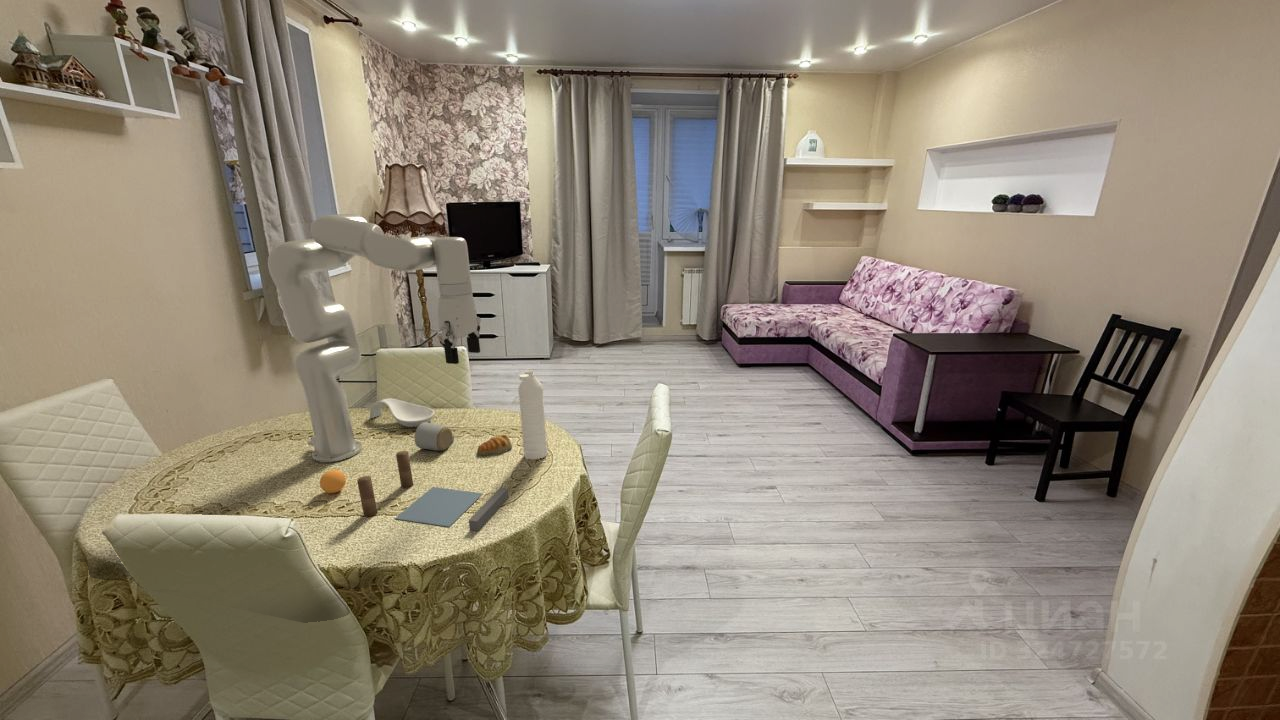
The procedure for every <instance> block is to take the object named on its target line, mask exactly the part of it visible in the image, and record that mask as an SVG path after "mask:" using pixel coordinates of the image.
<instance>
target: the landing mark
mask: <svg viewBox="0 0 1280 720" xmlns="http://www.w3.org/2000/svg"><path fill="white" fill-rule="evenodd" d="M483 494H484V493H483V492H475V491H468V490H459V489H451V488H443V487H436V486H432V487H431V488H429V489H428V490H427V491H426V492H424V493H423V494H422V495H421V496H420V497H418V499H416V500H415V501H414V502H413V503H411V504H410V505H409V506H408V507H407V508H406V509H405V510H403V511H402V512H401V513H399V514H398V515H397V516H396V517H395V518H394V519H395V520H398V521H399V520H400V521H407V522H412V523H413V522H414V523H419V524H424V525H425V524H426V525H433V526H439V527H446V528H450V527H451V526H452V525H454V523H456V522H457V520H458V519H460V517H462V516H463V514H465V512H466V511H468V509H469V508H471V506H472V505H474V504H475V503H476V502H477V501H478V499H479V498H481V496H482V495H483Z"/></svg>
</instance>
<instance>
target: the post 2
mask: <svg viewBox="0 0 1280 720" xmlns="http://www.w3.org/2000/svg"><path fill="white" fill-rule="evenodd" d="M395 457H396V463H397V464H396V465H397V470H398V475H399V481H400V486H401V487H400V488H401V489H409V488H412V487H413V486H414V481H413V480H414V479H413V473H412V468H411V461H410V455H409V451H407V450H400V451H397V452H396V453H395Z"/></svg>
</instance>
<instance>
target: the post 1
mask: <svg viewBox="0 0 1280 720" xmlns="http://www.w3.org/2000/svg"><path fill="white" fill-rule="evenodd" d="M356 481H357V487H358V491H359V492H358V493H359V497H360V502H361V507H362V512H363V513H362V514H363V517H364V518H372V517H374V516H376V515H377V514H378V508H377V503H376V497H375V492H374V485H373V480H372V477H371V476H370V475H363V476H360V477H358V479H357V480H356Z"/></svg>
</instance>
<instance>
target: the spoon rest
mask: <svg viewBox="0 0 1280 720" xmlns="http://www.w3.org/2000/svg"><path fill="white" fill-rule="evenodd" d="M383 404H384V405H386V406H387V408H388V409H389V411H390V413H391V415H392V417H393V418H394V419H395V421H396V422H397V423H398V424H399V425H401V426H404V427H406V428H418V426H419V425H420V424H421V423H423V422H429V423H430V421H431V420H433V418H434V416H435V413H436V412H435V410H434V409H432V408H430V407H428V406H424V405H419V404H417V403H416V404H415V403H412V402H407V401H404V400H400V399H396V398H391V397H389V398H388V397H387V398H383V399H382V400H381V399H380V400H379V401H376V402H375V403H373V404H372V405H371V408H370V411H369V419H370V418H373V419H375V418H374V417H376V418H378V417H380V416H382V415H383V409H382V406H383ZM377 416H378V417H377Z"/></svg>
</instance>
